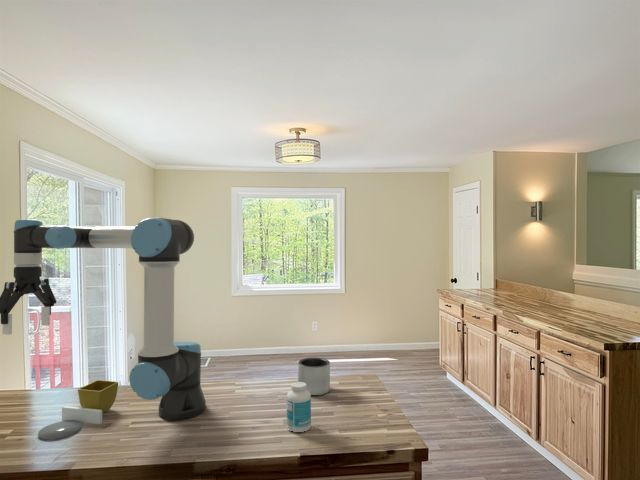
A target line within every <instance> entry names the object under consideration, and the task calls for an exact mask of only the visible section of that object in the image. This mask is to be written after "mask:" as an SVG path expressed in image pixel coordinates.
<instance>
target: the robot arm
mask: <svg viewBox="0 0 640 480" xmlns="http://www.w3.org/2000/svg"><path fill="white" fill-rule="evenodd" d="M194 241H195V233H194V231H193V228H192V227H191V226H190V225H189V224H188V223H187V222H185V221H182V220H179V219H171V218H163V217H148V218H145V219H142V220H141V221H139V222H138V223H137V224H136V225H135V226H95V227H94V226H72V225H71V226H69V225H62V224H57V225H56V224H53V225H43V221H42V220H40V219H29V218H28V219H24V218H22V219H16V220H15V221H14V228H13V265H14V267H13V278H14V279H15V280H14V281H5V282H4V287H3V290H2V293H1V294H0V324H1V325H2V335H9V336H10V335H12V334H13V313H11V311H12V310H13V309H14V307H15V306H16V304H17V303H18V302H19V300H20V299H21V298H22V297H23V296H25V295H29V294H33V295H34V296H35V297H36V299H38V300H39V301H40V302H41V304H42V305H43V306H41V308H40V309H41V312H40V313H41V316H40V318H41V319H40V323H41V326H46V327H48V326H50V318H51V315H52V307H54V306H55V305H56V304H57V299H56V297H55V293H54V292H53V290H52V287H51V285H50V279H49V278H41V277H42V274H43V273H42V272H43V268H42V266H41V265H42V264H43V249H58V250H59V249H77V248H78V249H97V248H98V249H133V251H134V252H135V253H136V254H137V255H138V263H139V264H140V265H141V266H142V267H143V272H144V273H143V277H144V278H143V345H142V347H141V348H140V349H139V351H137V364H135V365H134V366H133V368H132V369H131V371H130V372H129V385H130V387H131V390H132V391H133V392H134V393H136V395H137V396H138V397H139V398H141V399H144V400H147V401H148V400H149V401H151V400H152V401H153V400H156V399H159V398H160V401H159V405H158V416H159V417H160V418H162V419H164V420H169V421H171V420H172V421H173V420H175V421H178V420H186V419H190V418H193V417H196V416H199V415H200V414H202V413H203V412H204V411H205V410H206V406H207V405H206V398H205V396H204V391H203V389H202V386H201V371H202V370H201V369H202V367H201V366H202V363H201V362H202V357H201V356H202V351H201V349H202V348H201V345H200V343H198V342H196V341H175V340H174V339H175V338H174V337H175V336H174V335H175V327H174V326H175V325H174V324H175V268H176V266H177V265H178V264H179V263H180V262H181V261H180V255H183V254H185V253H187V252H188V251H189V250H190V249H191V248H192V246H193V245H194Z"/></svg>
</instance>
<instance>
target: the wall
mask: <svg viewBox="0 0 640 480" xmlns="http://www.w3.org/2000/svg"><path fill="white" fill-rule="evenodd" d="M67 420H76V421H80V422H81V423H89V424H96V425H97V424H98V425H100V424H102V423H103V413H102V410H98V409H89V408H82V407H80V406H79V407H77V406H68V405H64V406H62V407H61V421H67Z"/></svg>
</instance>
